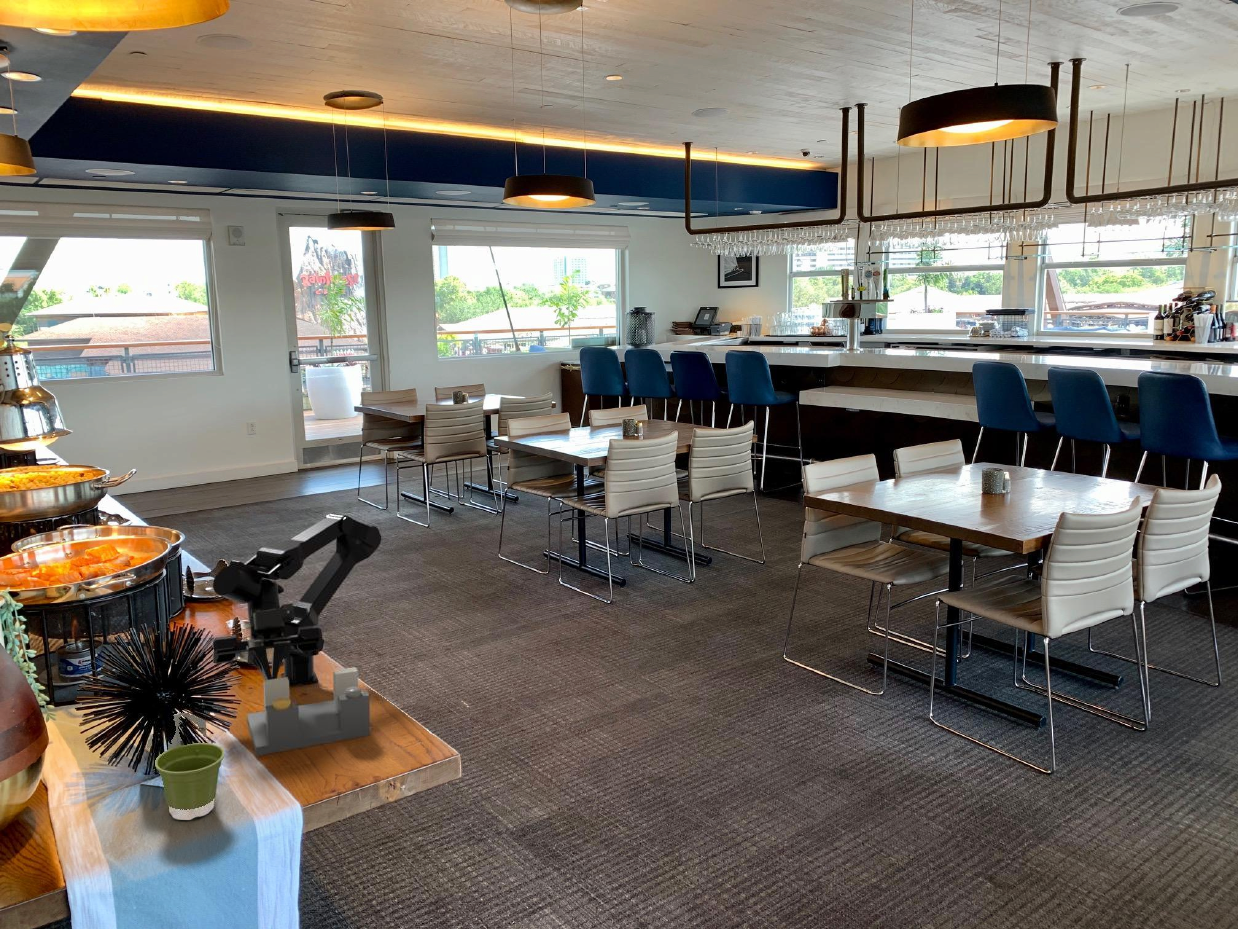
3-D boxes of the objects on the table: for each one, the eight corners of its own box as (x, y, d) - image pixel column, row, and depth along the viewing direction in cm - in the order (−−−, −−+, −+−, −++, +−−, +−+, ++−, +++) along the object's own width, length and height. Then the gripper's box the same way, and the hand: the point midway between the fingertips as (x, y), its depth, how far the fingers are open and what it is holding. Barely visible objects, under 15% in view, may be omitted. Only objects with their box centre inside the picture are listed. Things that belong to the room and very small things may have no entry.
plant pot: (180, 792, 142) (178, 740, 141) (238, 797, 141) (236, 745, 140) (143, 825, 133) (140, 769, 132) (205, 831, 132) (202, 775, 131)
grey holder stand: (247, 722, 167) (245, 677, 165) (353, 704, 175) (352, 662, 174) (256, 756, 154) (254, 708, 153) (370, 735, 163) (369, 690, 162)
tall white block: (264, 721, 163) (263, 680, 162) (288, 717, 165) (287, 677, 164) (266, 725, 161) (264, 685, 160) (290, 721, 163) (288, 681, 162)
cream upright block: (334, 709, 169) (333, 670, 167) (356, 705, 170) (355, 667, 169) (336, 713, 167) (335, 674, 166) (358, 710, 169) (357, 671, 167)
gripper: (210, 595, 163) (217, 676, 155) (319, 584, 171) (331, 661, 163) (209, 623, 171) (216, 702, 163) (313, 611, 179) (324, 686, 171)
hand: (272, 687), depth 165 cm, fingers closed
